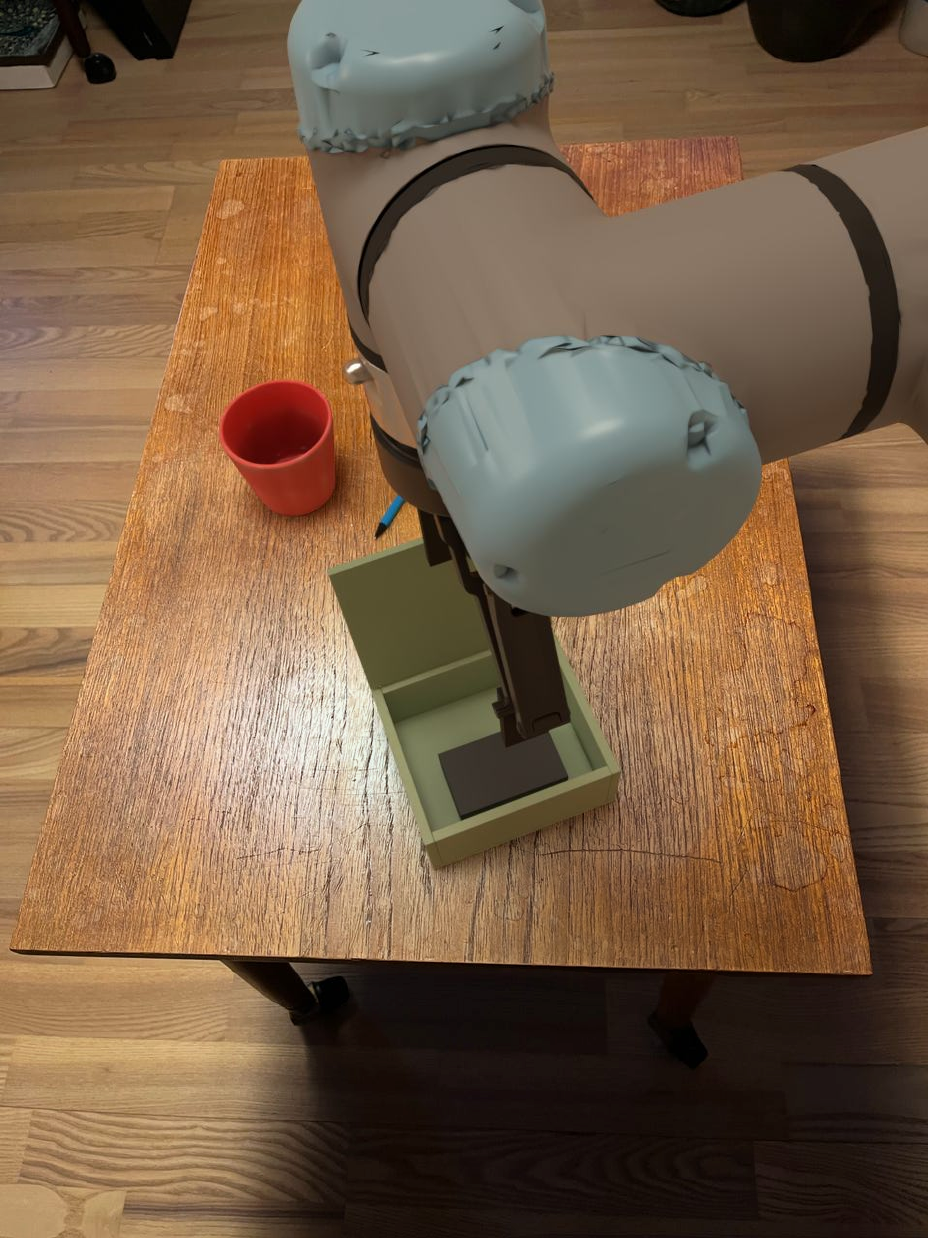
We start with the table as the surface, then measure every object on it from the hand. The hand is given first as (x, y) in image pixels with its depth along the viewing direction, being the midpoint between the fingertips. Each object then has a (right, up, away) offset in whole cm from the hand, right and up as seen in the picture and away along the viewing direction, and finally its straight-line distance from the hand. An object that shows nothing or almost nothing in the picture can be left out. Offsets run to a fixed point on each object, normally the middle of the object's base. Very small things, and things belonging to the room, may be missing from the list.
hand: (484, 640), depth 56 cm
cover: (-2, +3, +11) cm, 11 cm away
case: (+1, -11, +20) cm, 22 cm away
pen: (-6, +16, +36) cm, 40 cm away
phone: (+2, -12, +18) cm, 22 cm away
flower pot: (-18, +15, +36) cm, 43 cm away
